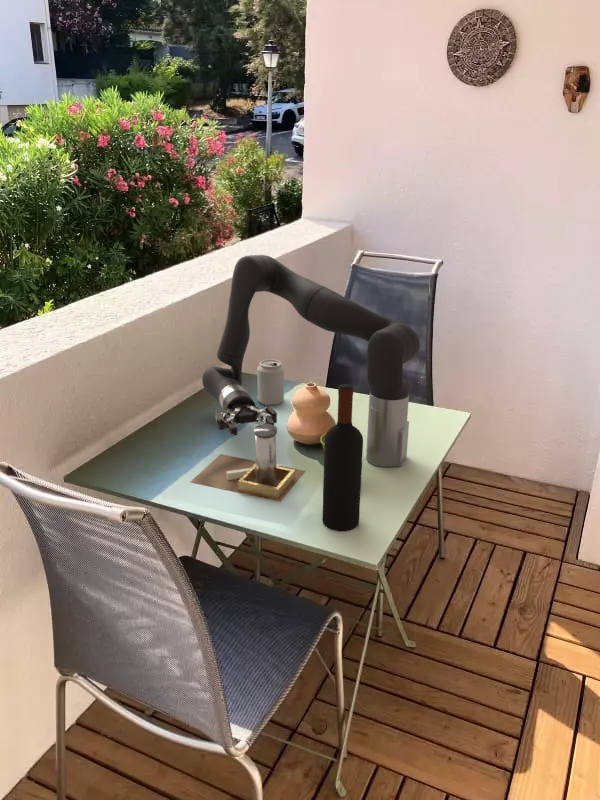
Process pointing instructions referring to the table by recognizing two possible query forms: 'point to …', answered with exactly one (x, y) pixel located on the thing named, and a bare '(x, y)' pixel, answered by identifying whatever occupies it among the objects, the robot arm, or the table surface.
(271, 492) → the keeper
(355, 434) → the wine bottle
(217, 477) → the board
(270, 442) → the silver cylindrical piece
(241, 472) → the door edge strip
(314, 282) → the robot arm
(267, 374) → the can
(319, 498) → the table surface
